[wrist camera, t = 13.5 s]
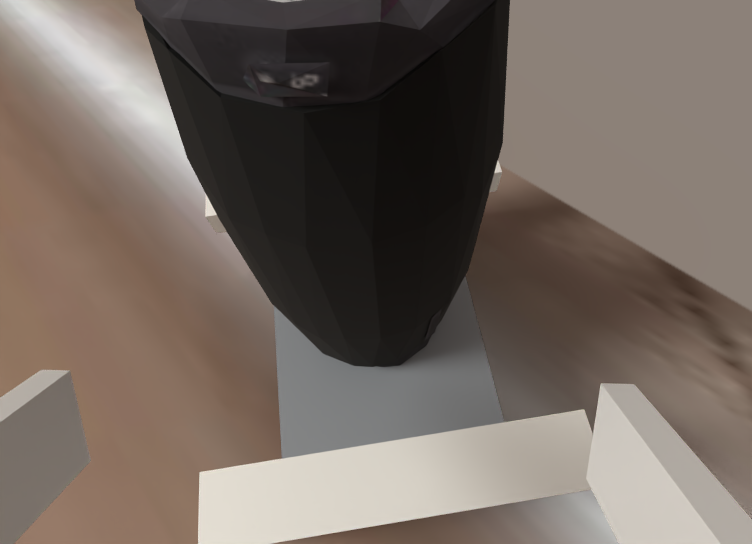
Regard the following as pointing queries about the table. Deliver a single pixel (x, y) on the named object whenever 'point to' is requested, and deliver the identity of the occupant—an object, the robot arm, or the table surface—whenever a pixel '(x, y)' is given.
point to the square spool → (390, 441)
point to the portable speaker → (342, 151)
